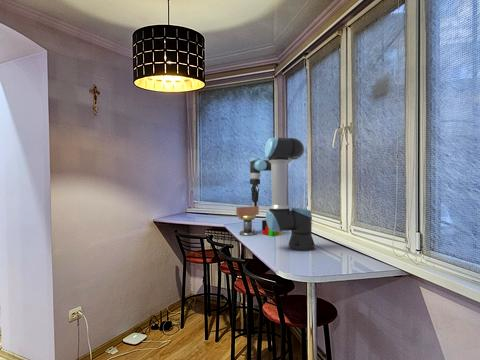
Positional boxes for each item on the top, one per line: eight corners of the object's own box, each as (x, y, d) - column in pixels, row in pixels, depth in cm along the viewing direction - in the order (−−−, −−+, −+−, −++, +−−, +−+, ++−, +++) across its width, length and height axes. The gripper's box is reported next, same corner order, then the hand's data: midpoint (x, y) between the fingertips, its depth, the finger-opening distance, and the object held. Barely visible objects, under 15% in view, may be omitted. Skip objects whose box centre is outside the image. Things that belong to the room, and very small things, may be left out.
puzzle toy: (271, 232, 231) (271, 219, 231) (281, 234, 224) (281, 220, 224) (262, 234, 225) (262, 220, 225) (272, 236, 217) (272, 222, 217)
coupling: (240, 220, 216) (240, 208, 216) (233, 219, 225) (233, 206, 225) (261, 218, 224) (261, 206, 224) (253, 217, 233) (253, 205, 233)
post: (257, 235, 220) (257, 220, 220) (241, 236, 218) (241, 221, 218) (253, 232, 232) (253, 218, 232) (237, 233, 230) (237, 218, 229)
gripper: (262, 179, 223) (262, 211, 224) (257, 178, 236) (257, 209, 237) (252, 179, 221) (252, 212, 222) (247, 178, 234) (247, 209, 235)
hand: (254, 210), depth 229 cm, fingers closed
